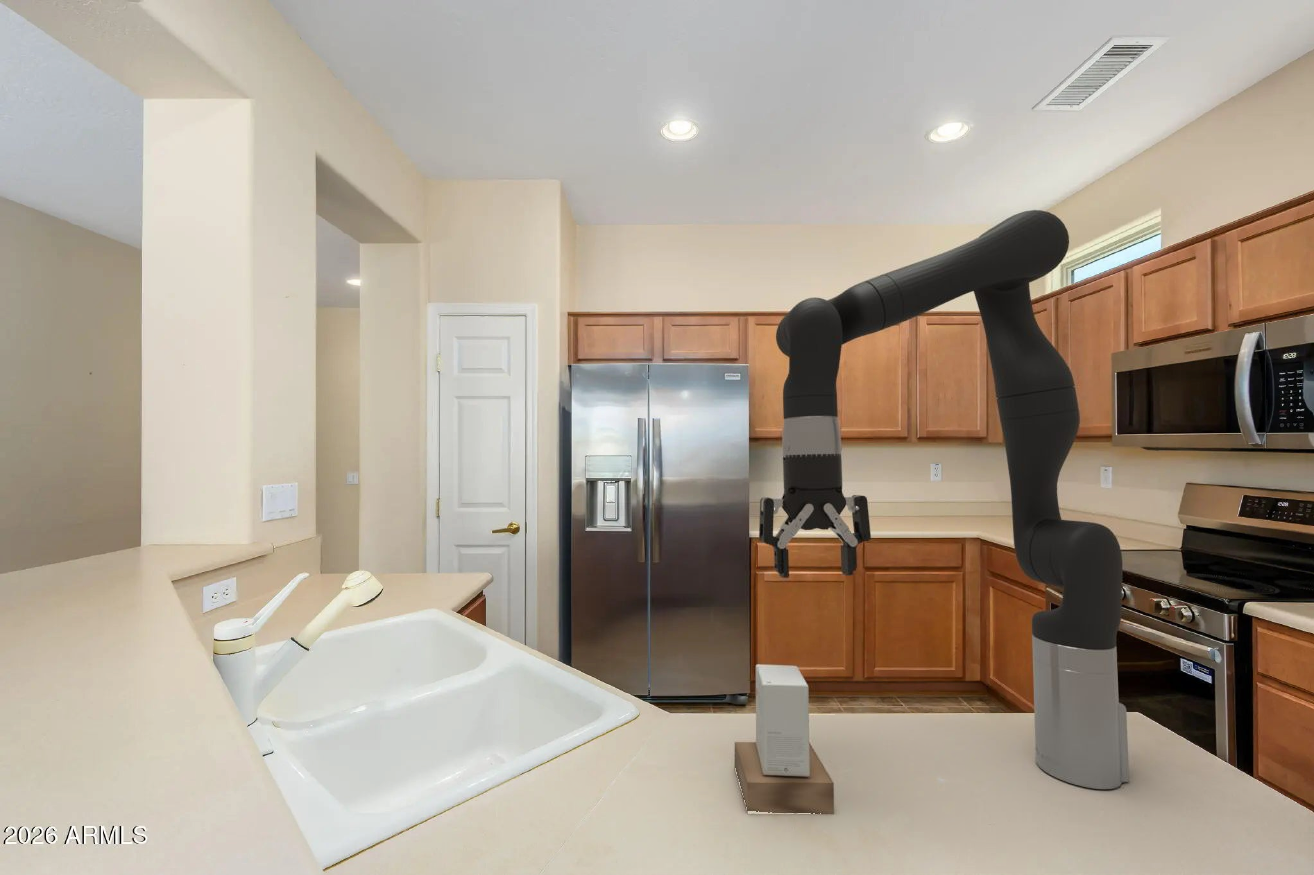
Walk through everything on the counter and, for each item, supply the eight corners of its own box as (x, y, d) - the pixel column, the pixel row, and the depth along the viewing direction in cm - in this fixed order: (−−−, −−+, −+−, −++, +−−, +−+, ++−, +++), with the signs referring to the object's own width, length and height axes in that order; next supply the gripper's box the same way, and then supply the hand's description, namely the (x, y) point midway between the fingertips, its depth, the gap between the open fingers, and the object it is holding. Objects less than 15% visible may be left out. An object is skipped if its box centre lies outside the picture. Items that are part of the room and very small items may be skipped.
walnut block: (809, 773, 76) (809, 742, 76) (833, 818, 66) (833, 782, 66) (734, 773, 76) (734, 742, 76) (747, 818, 66) (747, 782, 66)
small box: (810, 779, 67) (809, 686, 68) (761, 776, 67) (761, 684, 68) (798, 747, 75) (798, 664, 75) (755, 745, 75) (755, 663, 76)
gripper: (851, 452, 80) (856, 569, 79) (752, 454, 79) (755, 572, 78) (876, 450, 73) (881, 579, 72) (766, 452, 71) (770, 583, 71)
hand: (815, 575), depth 75 cm, fingers open, 8 cm apart
